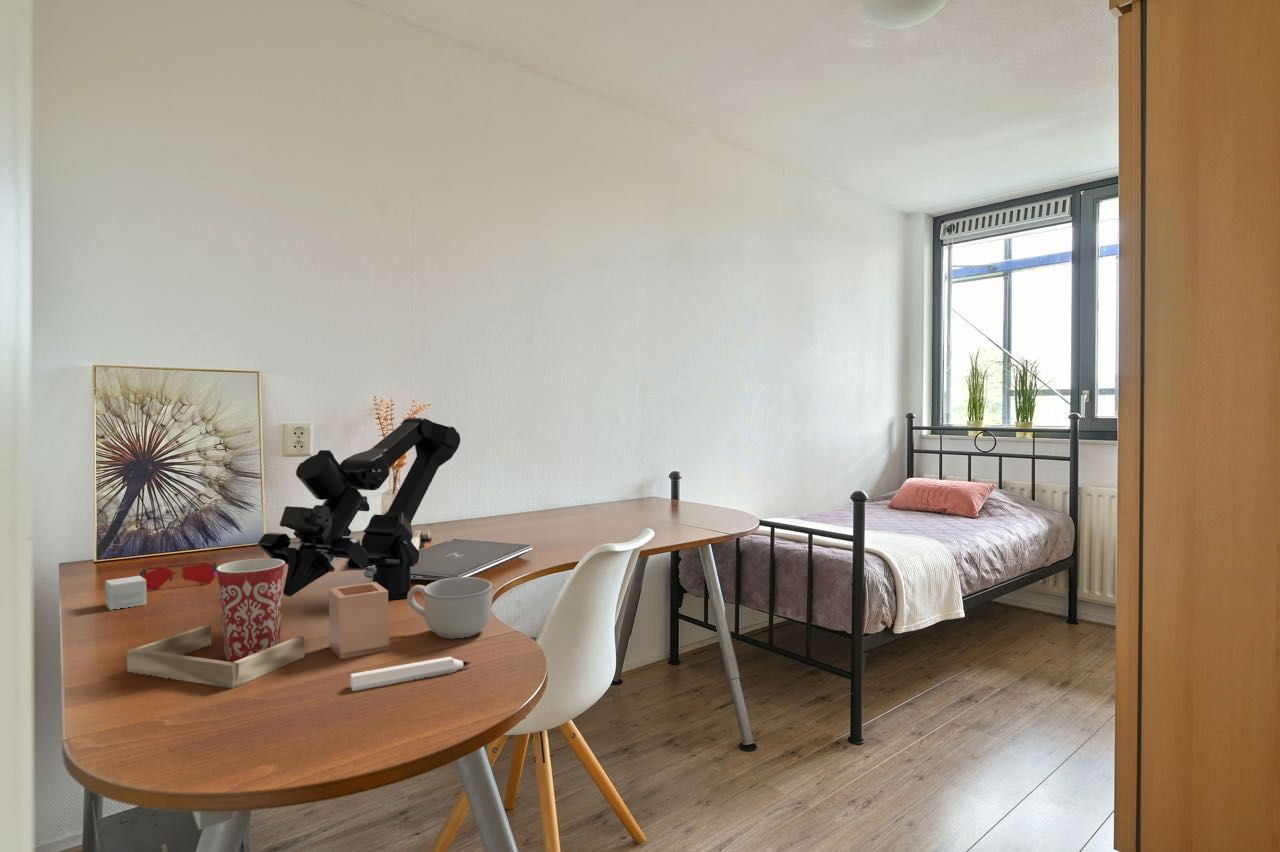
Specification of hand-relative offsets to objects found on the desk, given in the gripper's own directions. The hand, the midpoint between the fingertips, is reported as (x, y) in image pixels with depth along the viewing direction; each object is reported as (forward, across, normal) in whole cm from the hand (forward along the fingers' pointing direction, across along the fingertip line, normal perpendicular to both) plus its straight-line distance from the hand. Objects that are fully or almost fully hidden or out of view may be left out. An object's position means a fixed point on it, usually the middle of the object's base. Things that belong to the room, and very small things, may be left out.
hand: (286, 595), depth 116 cm
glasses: (-12, -52, +22) cm, 58 cm away
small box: (+1, -44, +9) cm, 45 cm away
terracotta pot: (+5, +15, +4) cm, 16 cm away
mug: (+10, 0, 0) cm, 10 cm away
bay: (+14, 0, -4) cm, 14 cm away
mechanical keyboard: (-39, -27, +49) cm, 69 cm away
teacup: (-2, +24, +12) cm, 27 cm away
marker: (+11, +30, -1) cm, 32 cm away
